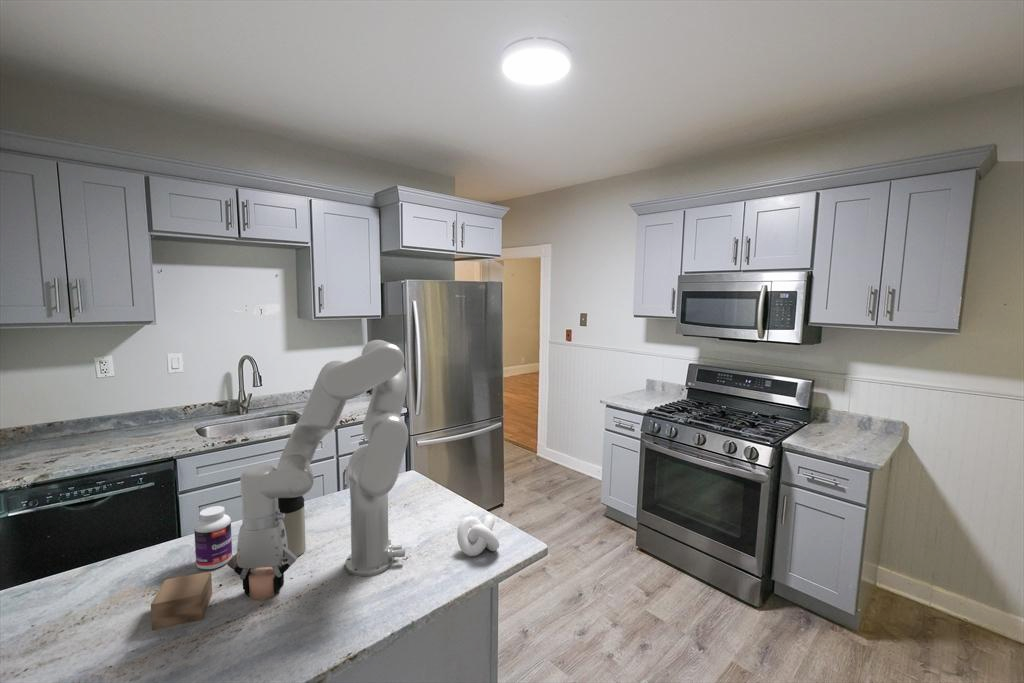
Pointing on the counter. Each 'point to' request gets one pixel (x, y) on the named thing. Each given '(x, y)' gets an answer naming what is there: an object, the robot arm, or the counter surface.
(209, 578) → the walnut box
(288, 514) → the travel mug
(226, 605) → the counter surface
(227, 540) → the pill bottle
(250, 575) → the peach rounded cylinder
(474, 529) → the white knot sculpture
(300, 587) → the counter surface
